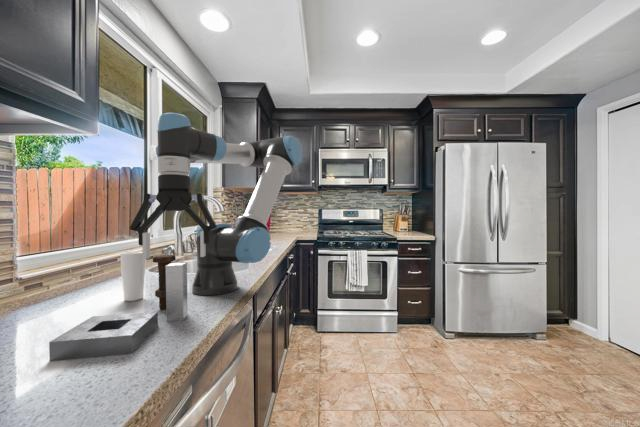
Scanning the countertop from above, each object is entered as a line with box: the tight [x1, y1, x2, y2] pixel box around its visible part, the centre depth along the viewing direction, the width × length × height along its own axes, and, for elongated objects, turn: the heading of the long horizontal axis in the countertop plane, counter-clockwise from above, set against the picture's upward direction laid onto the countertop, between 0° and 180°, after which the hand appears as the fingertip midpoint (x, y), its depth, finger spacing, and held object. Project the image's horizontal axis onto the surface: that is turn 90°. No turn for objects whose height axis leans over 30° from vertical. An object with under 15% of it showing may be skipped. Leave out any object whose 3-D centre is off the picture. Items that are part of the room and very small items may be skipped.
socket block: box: [48, 311, 159, 362], centre depth 63 cm, size 14×14×4 cm
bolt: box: [152, 254, 176, 310], centre depth 85 cm, size 6×5×15 cm
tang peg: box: [165, 262, 189, 322], centre depth 77 cm, size 4×4×14 cm
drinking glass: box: [120, 250, 147, 302], centre depth 95 cm, size 7×7×15 cm
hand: (175, 257), depth 76 cm, fingers open, 13 cm apart
